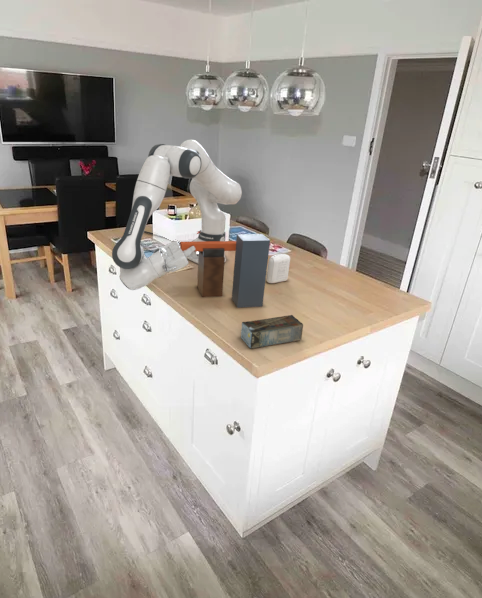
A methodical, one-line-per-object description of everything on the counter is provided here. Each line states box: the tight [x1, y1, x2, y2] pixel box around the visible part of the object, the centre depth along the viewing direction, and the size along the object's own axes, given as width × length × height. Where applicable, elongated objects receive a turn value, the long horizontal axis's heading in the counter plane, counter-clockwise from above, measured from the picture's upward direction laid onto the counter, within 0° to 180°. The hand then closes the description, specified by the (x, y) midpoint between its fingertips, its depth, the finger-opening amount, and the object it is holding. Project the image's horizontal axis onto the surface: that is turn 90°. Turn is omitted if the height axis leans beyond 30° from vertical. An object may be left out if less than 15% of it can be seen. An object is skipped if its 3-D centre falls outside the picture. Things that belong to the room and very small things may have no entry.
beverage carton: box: [240, 314, 304, 349], centre depth 135 cm, size 8×19×7 cm, turn 112°
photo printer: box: [265, 253, 291, 284], centre depth 181 cm, size 10×4×12 cm, turn 123°
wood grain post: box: [196, 248, 226, 298], centre depth 164 cm, size 8×10×19 cm
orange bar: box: [179, 240, 236, 252], centre depth 160 cm, size 24×3×3 cm, turn 105°
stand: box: [231, 233, 271, 309], centre depth 155 cm, size 10×8×26 cm
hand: (193, 245), depth 158 cm, fingers closed on orange bar, 3 cm apart
